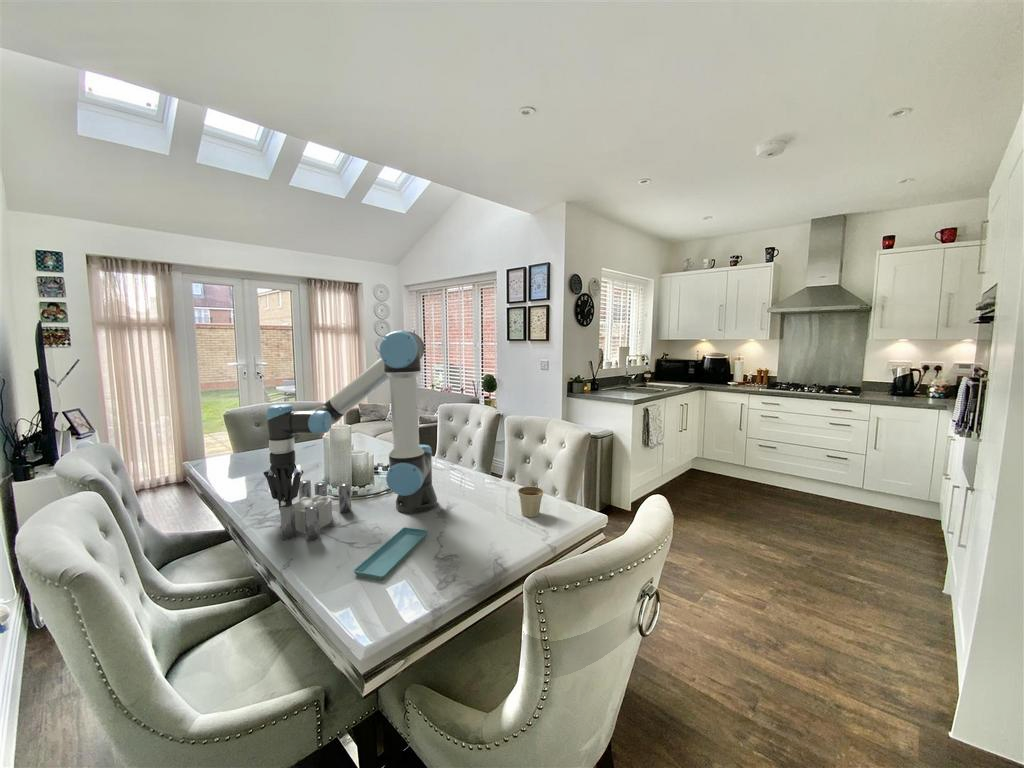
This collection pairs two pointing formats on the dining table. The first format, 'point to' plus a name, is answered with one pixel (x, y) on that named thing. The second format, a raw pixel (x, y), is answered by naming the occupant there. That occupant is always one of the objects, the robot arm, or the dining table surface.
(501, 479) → the dining table surface
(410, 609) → the dining table surface
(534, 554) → the dining table surface
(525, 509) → the flower pot
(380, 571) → the rectangular tray
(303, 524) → the lumpy-topped squat cylinder
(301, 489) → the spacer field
